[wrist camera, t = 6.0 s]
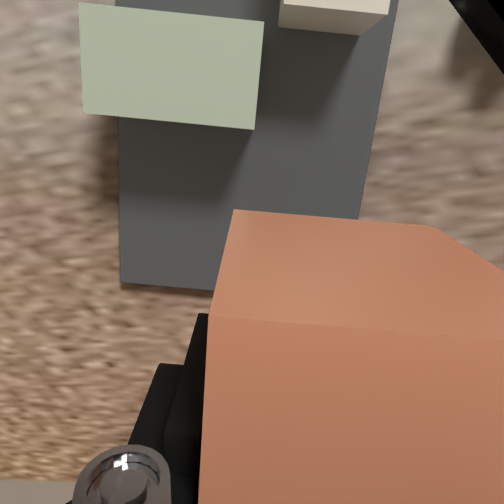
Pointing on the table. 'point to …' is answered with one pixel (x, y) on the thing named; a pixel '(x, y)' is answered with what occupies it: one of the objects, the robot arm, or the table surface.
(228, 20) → the sage brick
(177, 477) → the robot arm
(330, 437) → the terracotta brick
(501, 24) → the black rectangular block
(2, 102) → the table surface
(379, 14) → the cream brick
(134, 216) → the baseplate
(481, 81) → the table surface
